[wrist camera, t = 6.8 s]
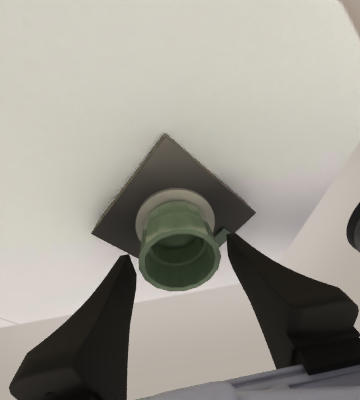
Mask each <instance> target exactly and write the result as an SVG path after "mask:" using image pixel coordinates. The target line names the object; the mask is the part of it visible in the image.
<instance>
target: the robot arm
mask: <svg viewBox="0 0 360 400" xmlns="http://www.w3.org/2000/svg"><path fill="white" fill-rule="evenodd" d="M226 236H227V249H228V257H229V260H230V262H231V265H232V267H233V270H234V272H235V273H236V275H237V277H238V279H239V281H240V283H241V285H242V287H243V289H244V290H245V292H246V294H247V296H248V298H249V300H250V302H251V305H252V307H253V310H254V312H255V314H256V317H257V319H258V322H259V324H260V327H261V329H262V332H263V334H264V337H265V340H266V342H267V345H268V348H269V350H270V353H271V355H272V358H273V361H274V364H275V366H276V369H277V370H272V371H267V372H263V373H258V374H254V375H249V376H244V377H239V378H235V379H230V380H225V381H217V382H209V383H205V384H200V385H195V386H190V387H186V388H181V389H176V390H172V391H167V392H163V393H160V394H157V395H154V396H151V397H146V398H141V399H136V400H360V338H359V337H360V333H359V332H358V331H357V330H356V329H355V328H354V323H355V321H356V318H357V316H358V312H359V310H358V306H357V305H356V304H355V303H354V302H353V301H352V300H351V299H350V298H349V297H348V296H347V295H346V294H345V293H344V292H343V291H342V290H341V289H340V288H338V287H335V286H332V285H328V284H326V283H323V282H319V281H317V280H314V279H311V278H308V277H306V276H304V275H301V274H299V273H297V272H294V271H292V270H290V269H288V268H286V267H284V266H282V265H280V264H279V263H277V262H275V261H273V260H271V259H270V258H268V257H267V256H265V255H264V254H262V253H261V252H259V251H258V250H256V249H255V248H254V247H252V246H251V245H250V244H248V243H247V242H246V241H244V240H243V239H242V238H241V237H239V236H238V235H237V234H236V233H231V234H226ZM136 275H137V274H136V272H135V269H134V267H133V264H132V261H131V259H130V256H129V254H127V255H122V256H120V257H119V259H118V260H117V261H116V263H115V264H114V266H113V267H112V269H111V270H110V272H109V273H108V274H107V276H106V277H105V279H104V280H103V281H102V283H101V284H100V285H99V287H98V288H97V289H96V290H95V292H94V293H93V294H92V295H91V296H90V298H89V299H88V300H87V301H86V302H85V303H84V304H83V305H82V306H81V307H80V308H79V309H78V310H77V311H76V312H75V313H74V314H73V315H72V316H71V317H70V318H69V319H68V320H67V321H66V322H65V323H64V324H63V325H62V326H60V327H59V328H58V329H57V330H56V331H55V332H53V333H52V334H51V335H50V336H49V337H48V338H46V339H45V340H44V341H42V342H41V343H40V344H39V345H37V346H36V347H35V348H33V349H32V350H31V351H29V352H28V353H27V355H26V356H25V358H24V360H23V362H22V364H21V366H20V367H19V369H18V371H17V373H16V374H15V376H14V378H13V380H12V382H11V384H10V386H9V389H10V393H11V394H12V395H13V396H14V397H15V398H16V399H17V400H126V399H127V362H128V344H129V330H130V321H131V315H132V309H133V304H134V298H135V291H136Z"/></svg>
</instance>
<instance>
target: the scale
mask: <svg viewBox="0 0 360 400" xmlns="http://www.w3.org/2000/svg"><path fill="white" fill-rule="evenodd" d="M172 201H181V202H187V203H189V204H192V205H194V206H196V207H198V208H199V209H200V210H201V211H202V213H203V214H204V215H205V217H206V219H207V221H208V223H209V226H210V228H211V230H212V233H213V235H214V237H215V240H216V242H217V244H218V247H220V246H221V245H222V244H223V243H224V242H225V241H226V240H227V236H226V234H231V233H235V232H236V231H237V230H238V229H239V228H240V227H241V226H242V225H243V224H245V223H246V222H247V221H248V220H249V219H250V218H251V217H252V216H253V215H254V214H255V213H256V212H255V211H254V210H253V209H252V208H251V207H250V206H249V205H248V204H247V203H246V202H245V201H244V200H243V199H241V198H240V197H239V196H238V195H237V194H236V193H234V192H233V191H232V190H231V189H230V188H229V187H227V186H226V185H225V184H224V183H223V182H222V181H220V180H219V179H218V178H217V177H216V176H214V175H213V174H212V173H211V172H210V171H209V170H207V169H206V168H205V167H204V166H203V165H202V164H200V163H199V162H198V161H197V160H196V159H195V158H193V157H192V156H191V155H190V154H189V153H188V152H186V151H185V150H184V149H183V148H182V147H181V146H179V145H178V144H177V143H176V142H175V141H173V140H172V139H171V138H170V137H169V136H168V135H166V134H164V135H163V136H162V138H161V139H160V140H159V142H158V143H157V144H156V146H155V147H154V148H153V149H152V151H151V152H150V153H149V155H148V156H147V157H146V159H145V160H144V161H143V163H142V164H141V165H140V167H139V168H138V169H137V171H136V172H135V173H134V175H133V176H132V177H131V178H130V180H129V181H128V182H127V184H126V185H125V186H124V188H123V189H122V190H121V192H120V193H119V194H118V196H117V197H116V198H115V200H114V201H113V202H112V203H111V205H110V206H109V207H108V209H107V210H106V211H105V213H104V214H103V215H102V217H101V218H100V219H99V221H98V222H97V224H96V226H95V228H94V229H93V231H92V233H91V234H93V235H95V236H96V237H98V238H100V239H102V240H104V241H106V242H108V243H110V244H112V245H114V246H115V247H117V248H119V249H121V250H123V251H125V252H127V253H129V254H131V255H133V256H134V257H136V258H138V259H139V253H140V246H141V239H142V232H143V225H144V222H145V220H146V218H147V216H148V214H149V213H150V212H151V211H153V210H154V209H155V208H156V207H158V206H160V205H162V204H165V203H168V202H172Z"/></svg>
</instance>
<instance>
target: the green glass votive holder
mask: <svg viewBox="0 0 360 400" xmlns="http://www.w3.org/2000/svg"><path fill="white" fill-rule="evenodd" d="M220 258H221V254H220V251H219V247H218V244H217V242H216V240H215V237H214V235H213V233H212V230H211V228H210V226H209V223H208V221H207V219H206V217H205V215H204V214H203V213H202V211H201V210H200V209H199V208H198V207H196V206H194V205H192V204H189V203H187V202H181V201H172V202H168V203H165V204H162V205H160V206H158V207H156V208H155V209H154V210H153V211H151V212H150V213H149V214H148V216H147V218H146V220H145V222H144V225H143V232H142V239H141V246H140V253H139V270H140V271H141V273H142V275H143V277H144V278H145V280H146V281H148V282H149V283H150V284H152V285H153V286H155V287H156V288H160V289H163V290H167V291H186V290H189V289H192V288H196V287H198V286H200V285H202V284H203V283H205V282H206V281H208V280H209V279H211V277H212V276H213V275H214V273H215V272H216V271H217V269H218V267H219V263H220Z"/></svg>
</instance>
